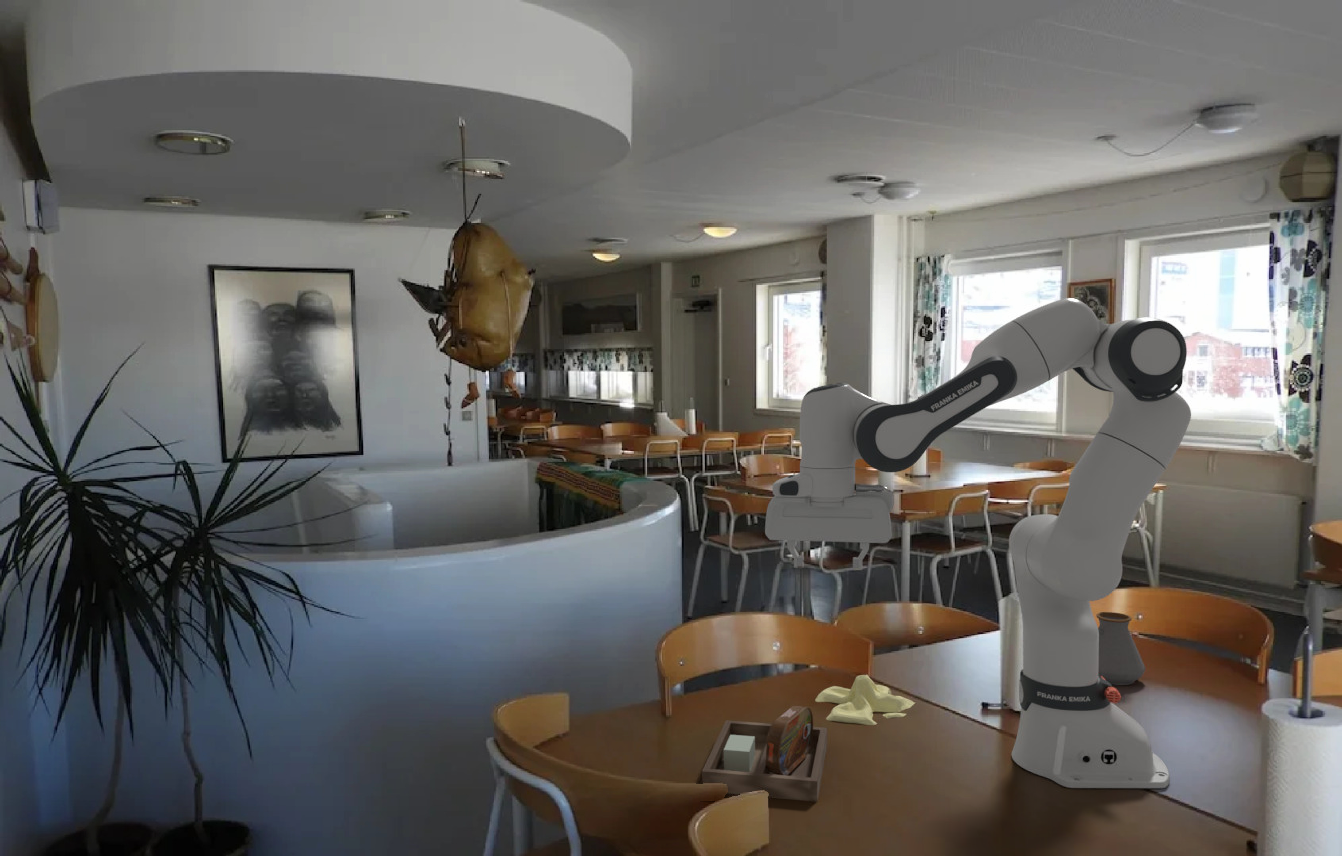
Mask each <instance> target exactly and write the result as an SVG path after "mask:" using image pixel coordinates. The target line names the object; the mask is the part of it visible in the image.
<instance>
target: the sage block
mask: <svg viewBox="0 0 1342 856" xmlns="http://www.w3.org/2000/svg"><path fill="white" fill-rule="evenodd" d="M754 760H755V736H742V735H730V737H729V739H728V741H727V744H726V746H725V748H724V770H729V771H740V772H750V771H751V768H752V765H753V762H754Z"/></svg>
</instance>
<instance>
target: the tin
mask: <svg viewBox="0 0 1342 856" xmlns="http://www.w3.org/2000/svg"><path fill="white" fill-rule="evenodd" d="M771 724H772V725H771V727H770V729H769V732H768V735H767V740H766V745H767V747H766V767H767V769H768V770H769V771H770V772H772V773H775V774H780V775H786V776H788V775H789V774H790V773H791V772H792V771H793V770H794V769H795V768H796V767H797V766H798V765H799V764H800V763H801V762H802V761H803V760H804V759H805V758H806V756H807V754H808V751H809V748H810V745H811V740H812V733H813V727H814V717H813V711H812V709H811V708H810V707H808V706H805V707H804V706H802V705H801V706H799V705H792V706H789V708H788V709H786V710H785V711H784V712H783V713H781V714H780V715H779V716H777V718H775V719H774V720H773V721H772V722H771Z"/></svg>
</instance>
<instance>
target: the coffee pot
mask: <svg viewBox="0 0 1342 856" xmlns="http://www.w3.org/2000/svg"><path fill="white" fill-rule="evenodd" d="M1095 615H1096V616H1095V617H1096V618H1097V619H1098V621H1099V625H1098V631H1099V666H1098V676H1099V677H1101V676H1102V677H1103V678H1104V679H1105V680H1106V681H1108V682H1109V683H1110V684H1111V685H1112V686H1113V685H1114V686H1128V685H1132V684H1134V683H1135V682H1134V681H1138V680H1139V679H1140V678H1141V677H1143V675H1144V674H1145V671H1146V667H1145V664H1144V662H1143V659H1142V656H1141V654H1140V652H1139V650H1138V648H1137V646H1136V643H1135V641H1134V639H1133V636H1132V634H1131V631H1130V629H1129V624H1130V622H1131V621H1132V619H1133V618H1132V617H1131V615H1128V614H1126V613H1125V614H1124V613H1122V612H1121V613H1120V612H1112V611H1111V612H1110V611H1101V612H1098V613H1096V614H1095Z"/></svg>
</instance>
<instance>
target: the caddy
mask: <svg viewBox="0 0 1342 856" xmlns="http://www.w3.org/2000/svg"><path fill="white" fill-rule="evenodd" d="M771 725H772V723H766V722H753V721H741V720H740V721H739V720H738V721H737V720H729V719H728V720H727V719H726V720H725V721H724V723H723V726H722V729H721V730H720V732H719V735H718V736H717V738H716V741H715V743H714V745H713V748H712V749H711V751H710V754H709V756H708V758H707V760H706V762H705V764H704V766H703V769H702V771H701V774H702V775H701V776H702V777H701V779H702V783H723V784H727V786H728V793H727V794H729V795H730V794H732V795H739V794H740V793H743V792H752V791H756V790H765V791H767V792H768V793H769V797H768V798H771V799H772V798H774V799H781V800H782V799H784V800H791V801H792V800H794V801H804V802H806V801H807V802H813V803H814V802H815V803H817V802H818V801H819V795H820V791H821V790H820V788H821V783H822V776H823V771H824V765H825V760H826V754H827V750H828V749H827V748H828V728H827V727H820V726H819V727H818V726H813V733H812V740H811V745H810V748H809V751H808V754H807V756H806V758H805V759H804V760H803V761H802V762H801V763H800V764H799V765H798V766H797V767H796V768H795V769H794V770H793V771H792V772H791V773H790V774H789V775H788V776H786V775H780V774H775V773H772V772H770V771H769V770H768V769H767V767H766V747H767V745H766V740H767V735H768V732H769V729H770V727H771ZM730 735H742V736H755V760H754V762H753V765H752V768H751V771H750V772H740V771H729V770H724V748H725V746H726V744H727V741H728V739H729V737H730ZM702 783H701V784H702Z"/></svg>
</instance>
